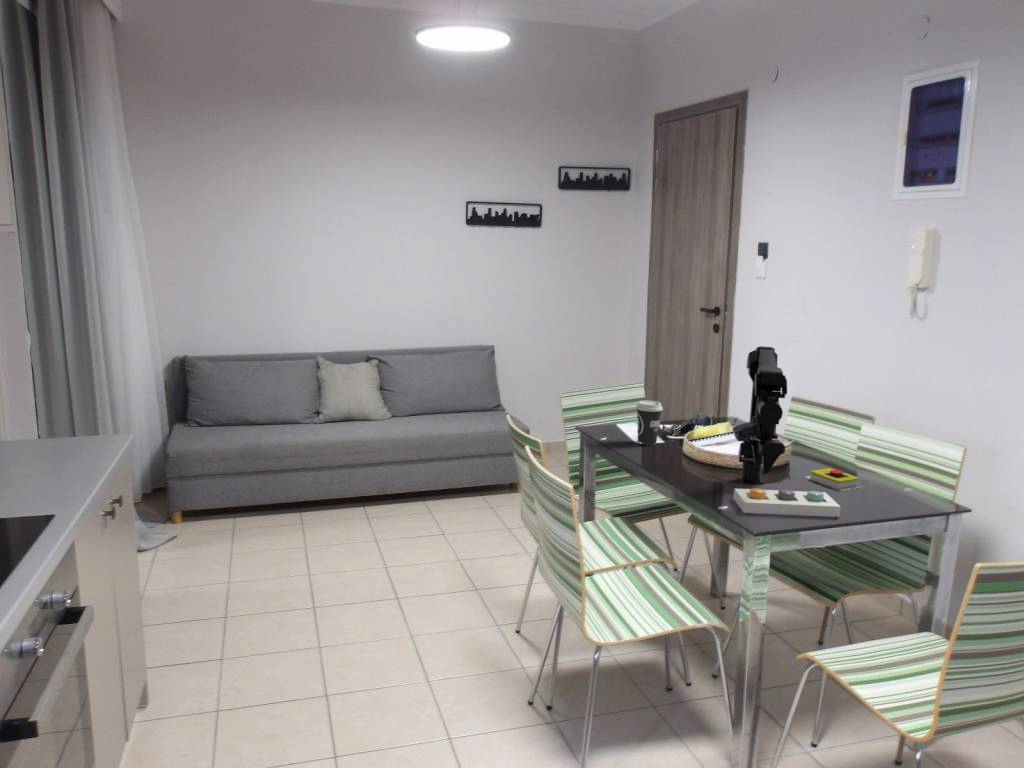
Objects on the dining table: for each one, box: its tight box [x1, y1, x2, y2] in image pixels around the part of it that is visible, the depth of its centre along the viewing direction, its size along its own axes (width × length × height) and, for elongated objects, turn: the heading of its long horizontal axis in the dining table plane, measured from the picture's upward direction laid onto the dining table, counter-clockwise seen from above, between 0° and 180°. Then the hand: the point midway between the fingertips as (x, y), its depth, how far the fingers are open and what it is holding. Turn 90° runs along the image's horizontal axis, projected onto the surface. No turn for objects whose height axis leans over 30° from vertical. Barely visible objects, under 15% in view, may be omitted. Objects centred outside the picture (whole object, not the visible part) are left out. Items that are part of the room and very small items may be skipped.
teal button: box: [806, 490, 824, 502], centre depth 223 cm, size 4×4×2 cm
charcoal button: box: [778, 489, 795, 501], centre depth 224 cm, size 4×4×2 cm
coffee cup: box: [635, 400, 664, 444], centre depth 287 cm, size 10×10×15 cm
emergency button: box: [804, 467, 862, 492], centre depth 249 cm, size 9×4×15 cm
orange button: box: [749, 487, 766, 499], centre depth 224 cm, size 4×4×2 cm
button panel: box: [733, 488, 841, 518], centre depth 224 cm, size 12×26×3 cm, turn 88°
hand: (761, 469), depth 222 cm, fingers open, 8 cm apart
